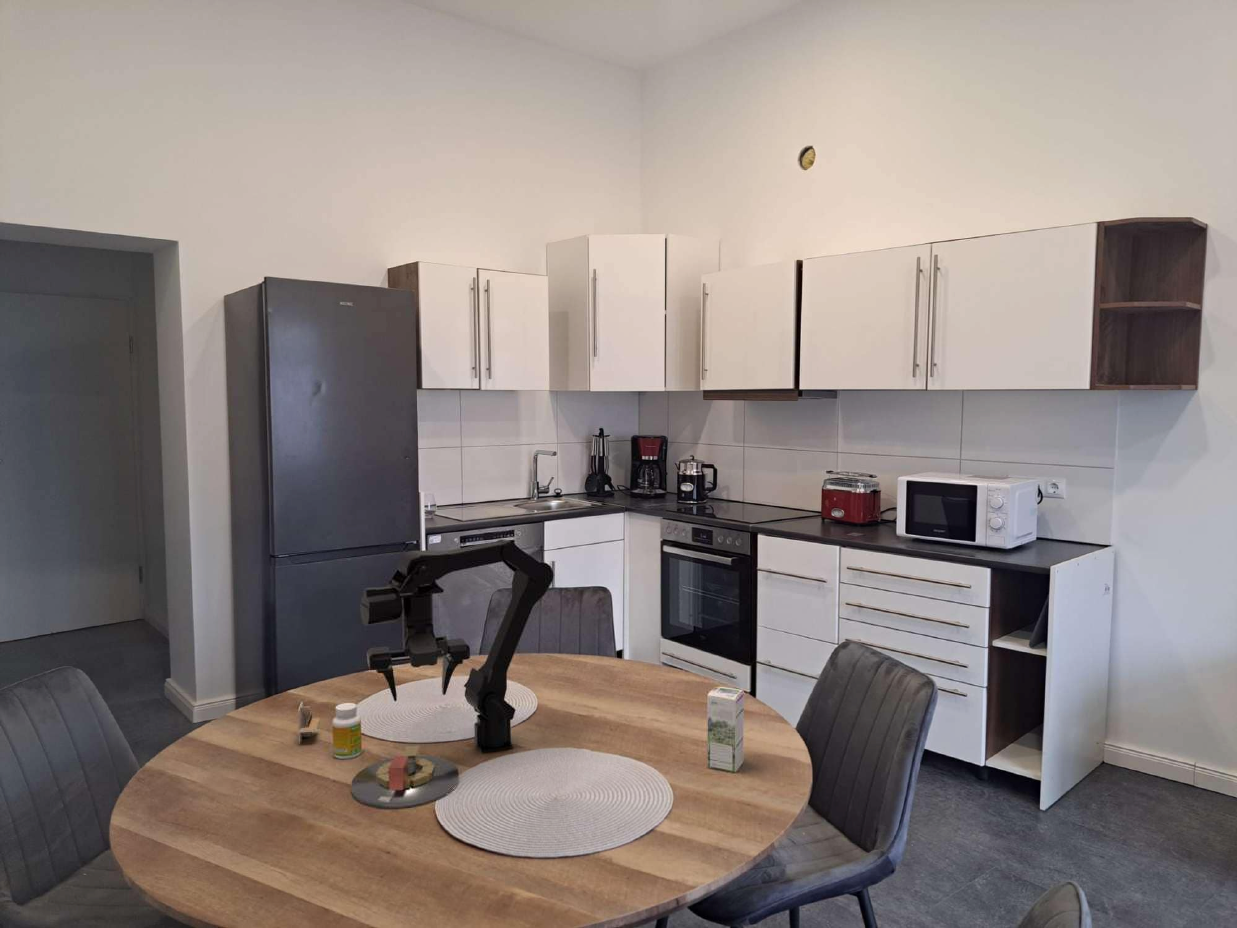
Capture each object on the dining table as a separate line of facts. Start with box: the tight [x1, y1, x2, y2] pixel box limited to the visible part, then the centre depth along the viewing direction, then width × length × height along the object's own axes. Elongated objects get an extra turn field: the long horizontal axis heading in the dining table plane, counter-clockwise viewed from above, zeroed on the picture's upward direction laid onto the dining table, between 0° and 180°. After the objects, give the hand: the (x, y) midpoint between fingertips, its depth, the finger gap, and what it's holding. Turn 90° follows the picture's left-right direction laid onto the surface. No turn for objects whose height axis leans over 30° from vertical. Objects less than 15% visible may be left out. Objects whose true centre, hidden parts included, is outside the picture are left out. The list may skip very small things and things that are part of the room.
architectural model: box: [297, 701, 320, 744], centre depth 176 cm, size 3×7×7 cm, turn 13°
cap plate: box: [350, 755, 459, 810], centre depth 155 cm, size 19×19×4 cm
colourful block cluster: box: [376, 745, 435, 790], centre depth 155 cm, size 13×13×5 cm
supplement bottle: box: [331, 702, 363, 760], centre depth 168 cm, size 5×5×10 cm
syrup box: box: [706, 685, 745, 773], centre depth 162 cm, size 6×6×14 cm
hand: (419, 697), depth 163 cm, fingers open, 9 cm apart
